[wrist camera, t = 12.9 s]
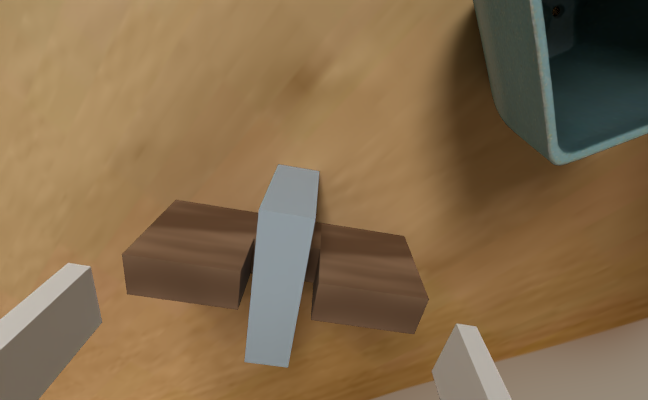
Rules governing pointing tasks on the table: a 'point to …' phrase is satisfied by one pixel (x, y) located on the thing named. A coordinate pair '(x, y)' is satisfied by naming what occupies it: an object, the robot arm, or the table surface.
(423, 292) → the walnut notched block
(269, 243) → the light blue notched brick
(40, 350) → the robot arm
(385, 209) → the table surface
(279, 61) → the table surface
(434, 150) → the table surface
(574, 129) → the flower pot
